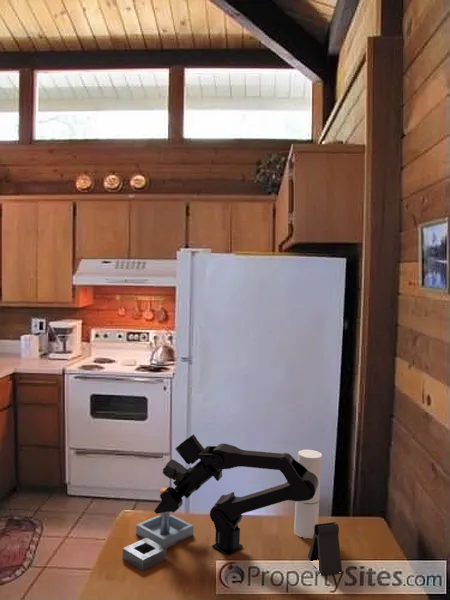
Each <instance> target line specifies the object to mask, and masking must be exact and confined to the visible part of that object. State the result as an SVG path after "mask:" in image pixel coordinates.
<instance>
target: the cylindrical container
mask: <svg viewBox="0 0 450 600" xmlns="http://www.w3.org/2000/svg"><path fill="white" fill-rule="evenodd" d="M322 459H323V454H322V453H321V452H320V451H317V450H314V449H301V450H299V451H298V453H297V462H299V463H300V464H302V465H303V466H304V467H305V468H306V469H307V470H308V471H310V472H311V473H313V474H315V475H316V477H317V478H318V487H317V490H316V492H315V495H314V497H313V498H312V499H310V500H307V501H295V502H294V506H295V507H294V508H295V509H294V524H293V525H294V528H293V534H294V535H295V536H297V537H298V536H299V537H298V538H301V537H304V538H303V539H306V538H310V539H313V538H312V537H313V536H314V526H315V524H319V510H320V509H319V508H320V491H321V477H322V464H323V463H322Z"/></svg>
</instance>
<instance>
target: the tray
mask: <svg viewBox="0 0 450 600" xmlns="http://www.w3.org/2000/svg"><path fill="white" fill-rule="evenodd" d="M135 526H136V528H135V529H136V530H135V535H136V534H137V535H136V536H138V535H139V536H138V537H140V538H141V539H144V538H148V539H150V540H152V541H154V542H156V543H157V544H159V545H161V546H163V547H165V548H166V549H168V548H170V547H171V546H173V545H176V544H177V543H180V542H182V541H184V540H186V539H188V538H190V537H192V536H193V535H194V524H191V523H189V522H188V521H186V520H183V519H182V518H180V517H177V516H176V515H173V514H172V513H170V533H169V534H168V535H161V534H160V514H159V515H156V516H154V517H151V518H149V519H146V520H144V521H142V522H140V523H137V524H136V525H135Z"/></svg>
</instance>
